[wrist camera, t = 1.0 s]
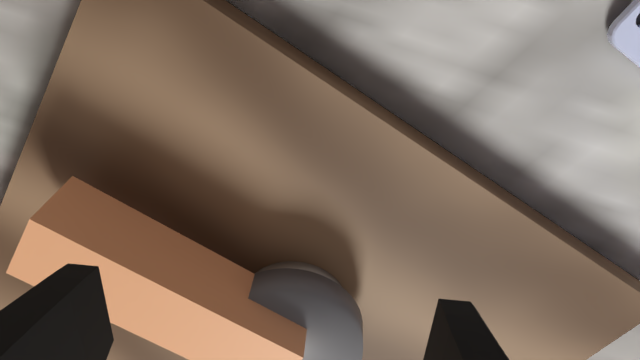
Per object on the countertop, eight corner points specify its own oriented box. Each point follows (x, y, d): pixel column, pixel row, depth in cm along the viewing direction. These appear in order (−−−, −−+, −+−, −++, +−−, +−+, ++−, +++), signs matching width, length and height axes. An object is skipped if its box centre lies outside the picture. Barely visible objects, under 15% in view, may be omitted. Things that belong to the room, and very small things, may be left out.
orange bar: (391, 313, 18) (396, 368, 16) (312, 387, 20) (307, 444, 18) (87, 143, 15) (44, 183, 13) (36, 251, 17) (-7, 300, 15)
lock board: (124, -68, 14) (92, -62, 12) (646, 285, 19) (675, 324, 18) (-22, 289, 22) (-54, 324, 20) (379, 474, 27) (381, 514, 25)
